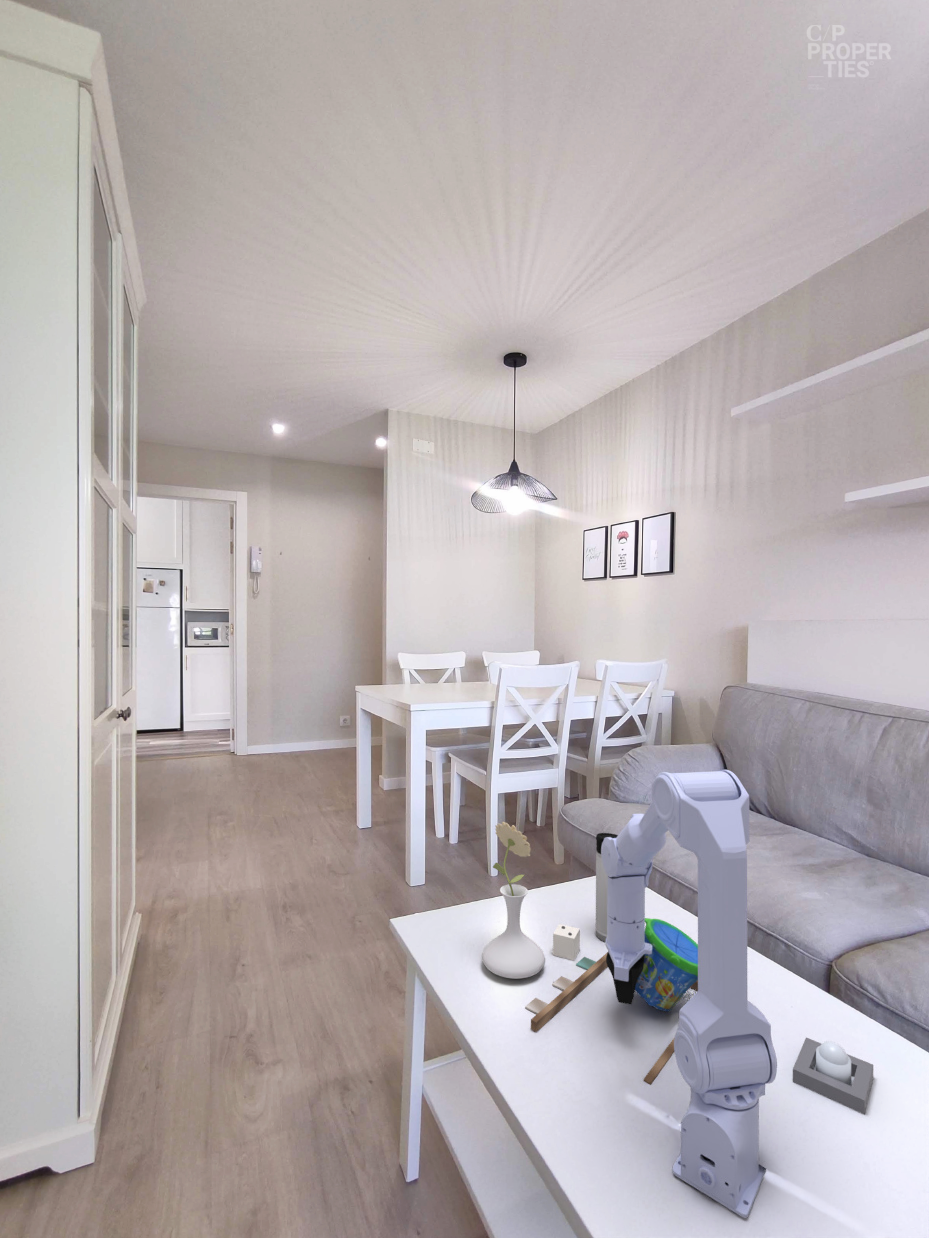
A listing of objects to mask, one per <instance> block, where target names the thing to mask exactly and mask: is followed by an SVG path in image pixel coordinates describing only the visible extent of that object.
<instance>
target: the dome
mask: <svg viewBox="0 0 929 1238" xmlns="http://www.w3.org/2000/svg"><path fill="white" fill-rule="evenodd" d="M847 1054H848V1053H847V1052H846V1050H845V1049H844V1048H843V1047H842V1046H841V1045H840V1044H839V1043H837V1042H835V1041H832V1040H826V1041H824V1042H822V1043H821V1045H820V1046H818V1047H817V1048H816V1064H815V1071H817V1072H819V1073H822V1074H824V1075H826V1076H829V1077H831V1078H833V1079H836V1080H838V1081H840V1082H842V1083H845V1084H847V1085H849V1086H852V1076H851V1059H850V1058H849V1056H848V1055H849V1054H848V1055H847Z"/></svg>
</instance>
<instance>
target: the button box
mask: <svg viewBox="0 0 929 1238" xmlns="http://www.w3.org/2000/svg"><path fill="white" fill-rule="evenodd" d="M821 1044H822V1043H821V1042H819V1041H816V1040H813V1039H812V1038H808V1037H806V1036H805V1039H804V1041H803V1043H802V1046H801V1049H800V1050H799V1053H798V1056H797V1058H796V1061H795V1063H794V1065H793V1067H792V1083H795V1084H796V1085H799V1086H801V1087H803V1088H805V1089H807V1090H810V1091H812V1092H814V1093H816V1094H819V1095H821V1096H823V1097H825V1098H827V1099H829V1100H831V1101H833V1102H836V1103H839V1104H840V1105H843V1106H844V1107H847V1108H849V1109H851V1110H853V1111H856V1112H857V1113H860V1114H862V1115H864V1116H865V1114H866V1111H867V1108H868V1107H867V1106H868V1102H869V1097H870V1095H871V1090H872V1085H873V1082H874V1081H873V1080H874V1064H873V1063H870V1062H869V1061H868V1062H867V1061H865V1060H863V1059H860V1058H858V1057H856V1056H853V1055H851V1054H848V1053H846V1054H847V1055H848V1056H849V1058H850V1059H851V1077H853V1080H852V1082H851V1086H849V1085H847V1084H845V1083H842V1082H840V1081H838V1080H836V1079H833V1078H831V1077H829V1076H826V1075H824V1074H822V1073H819V1072H817V1071H816V1069H814V1068H815V1067H816V1048H817V1047H818V1046H820V1045H821Z"/></svg>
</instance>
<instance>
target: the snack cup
mask: <svg viewBox="0 0 929 1238" xmlns="http://www.w3.org/2000/svg"><path fill="white" fill-rule="evenodd" d="M645 943H649V944H651V945H652V954H645V957H644V967H643V970H642V972H641V974H640V976H639V977H638V980H637V982H636V986H635V993H637V994H638V995H639V997H640V998H641V999H644V1001H645V1002H646V1003H647V1005H648V1006H650V1007H654V1008H655V1009H657V1010H661V1011H665V1012H666V1013H668V1012H670V1011H671V1010H672V1009H673V1008H674V1007H675V1006H676V1005H677V1004H678V1002H679V1001H680V1000H682V998H683V997H684V995H685V994H686V993H687V992H688V991H689V990H690V989H691V988H690V987H691V986H692V985H693V984H694V983H695V982H696V981H697V980H698V942H696V941H695V940H693V939H692V937H690V936H689V935H687V933H685V932H684V931H683V930H681V929H680V928H678V927H677V926H675V925H673V924H671V923H669V922H667V921H665V920H662V919H659V918H648V917H645Z"/></svg>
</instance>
